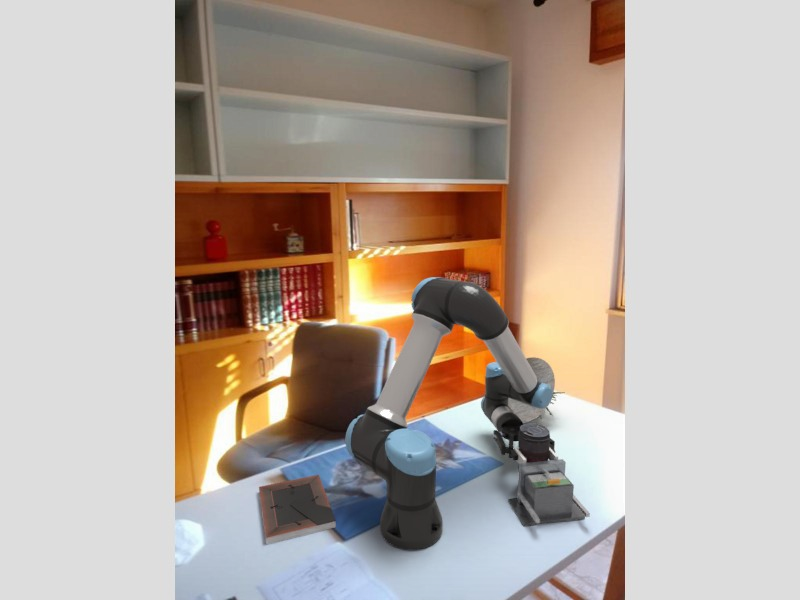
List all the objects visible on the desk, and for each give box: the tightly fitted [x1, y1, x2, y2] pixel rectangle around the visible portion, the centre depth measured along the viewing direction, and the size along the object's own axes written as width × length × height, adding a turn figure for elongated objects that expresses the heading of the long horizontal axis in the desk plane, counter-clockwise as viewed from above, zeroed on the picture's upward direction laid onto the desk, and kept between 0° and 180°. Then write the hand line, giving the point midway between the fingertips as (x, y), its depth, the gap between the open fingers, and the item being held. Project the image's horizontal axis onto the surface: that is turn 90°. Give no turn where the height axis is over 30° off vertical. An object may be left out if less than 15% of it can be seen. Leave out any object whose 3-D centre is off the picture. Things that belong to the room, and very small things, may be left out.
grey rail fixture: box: [517, 458, 591, 523], centre depth 116 cm, size 14×12×10 cm
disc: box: [508, 356, 566, 424], centre depth 173 cm, size 25×18×25 cm
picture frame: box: [258, 474, 337, 545], centre depth 121 cm, size 16×2×22 cm
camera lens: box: [517, 422, 551, 474], centre depth 126 cm, size 8×8×15 cm
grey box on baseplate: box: [507, 472, 586, 527], centre depth 119 cm, size 16×10×9 cm, turn 99°
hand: (540, 462), depth 121 cm, fingers closed on camera lens, 8 cm apart
